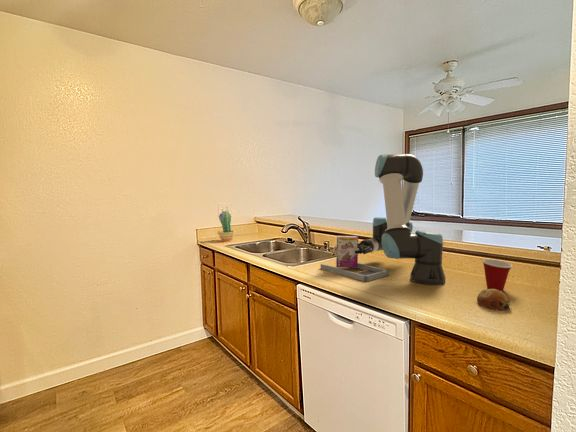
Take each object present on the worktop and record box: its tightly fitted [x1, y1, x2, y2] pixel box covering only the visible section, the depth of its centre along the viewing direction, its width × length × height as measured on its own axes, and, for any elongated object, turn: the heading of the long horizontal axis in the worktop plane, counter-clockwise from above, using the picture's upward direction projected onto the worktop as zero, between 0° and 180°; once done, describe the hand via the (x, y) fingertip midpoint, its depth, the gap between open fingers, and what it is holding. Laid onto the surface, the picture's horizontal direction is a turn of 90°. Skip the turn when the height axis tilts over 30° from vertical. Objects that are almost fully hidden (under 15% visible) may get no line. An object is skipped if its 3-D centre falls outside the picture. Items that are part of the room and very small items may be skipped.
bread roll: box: [476, 288, 511, 311], centre depth 115 cm, size 10×10×8 cm
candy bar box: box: [335, 235, 359, 269], centre depth 166 cm, size 11×5×16 cm, turn 84°
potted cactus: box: [217, 210, 237, 243], centre depth 258 cm, size 15×16×25 cm
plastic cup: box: [482, 258, 513, 292], centre depth 132 cm, size 11×11×12 cm
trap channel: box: [320, 262, 390, 283], centre depth 162 cm, size 31×18×2 cm, turn 38°
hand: (341, 250), depth 163 cm, fingers closed on candy bar box, 11 cm apart
